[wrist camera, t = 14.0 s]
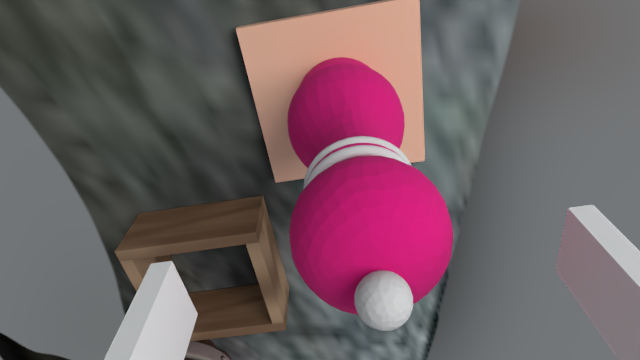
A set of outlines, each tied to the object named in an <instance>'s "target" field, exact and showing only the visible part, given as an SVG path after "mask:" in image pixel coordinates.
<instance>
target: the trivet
mask: <svg viewBox="0 0 640 360" xmlns="http://www.w3.org/2000/svg"><path fill="white" fill-rule="evenodd" d="M236 32H237V36H238V40H239V44H240V47H241V51H242V55H243V59H244V63H245V67H246V71H247V74H248V78H249V82H250V86H251V90H252V94H253V98H254V101H255V105H256V109H257V113H258V117H259V121H260V125H261V128H262V132H263V136H264V140H265V144H266V148H267V152H268V155H269V159H270V163H271V167H272V171H273V175H274V179H275V182H276V183H277V182H284V181H291V180H298V179H304V178H305V175H306V172H307V170H308V168H307V167H306V166H305V165H304V164H303V163H302V162H301V160H300V159H299V158H298V156H297V155H296V153H295V151H294V149H293V147H292V145H291V142H290V138H289V135H288V124H287V120H288V110H289V106H290V103H291V100H292V98H293V96H294V94H295V92H296V91H297V89H298V88H299V86H300V84H301V82H302V80H303V78H304V77H305V75H306V74H307V73H308V72H309V71H310V70H311V69H312V68H313V67H315V66H316V65H317V64H319V63H321V62H323V61H325V60H328V59H332V58H339V57H346V58H353V59H355V60H358V61H361V62H362V63H364V64H366V65H368V66H369V67H370V68H371V69H373V70H375V71H376V72H378V73H379V74H381V75H382V76H383V77H385V78H386V79H387V80H388V81H389V82H390V83H391V85H392V86H393V87H394V89H395V91H396V93H397V94H398V96H399V99H400V102H401V105H402V108H403V112H404V123H405V127H404V135H403V140H402V144H401V146H400V150H401V151H402V152H403V153H404V154H405V155H406V157H407V158H408V160H409V161H410V163H412V162H419V161H425V147H424V118H423V89H422V60H421V31H420V2H419V0H383V1H378V2H372V3H366V4H361V5H355V6H350V7H344V8H338V9H333V10H327V11H322V12H316V13H310V14H305V15H299V16H294V17H288V18H282V19H277V20H271V21H265V22H260V23H254V24H249V25H243V26H238V27H237V28H236Z"/></svg>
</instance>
